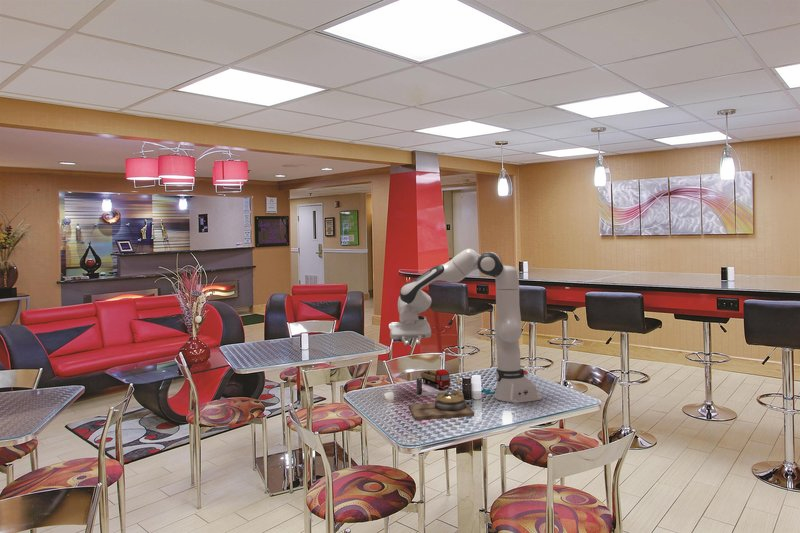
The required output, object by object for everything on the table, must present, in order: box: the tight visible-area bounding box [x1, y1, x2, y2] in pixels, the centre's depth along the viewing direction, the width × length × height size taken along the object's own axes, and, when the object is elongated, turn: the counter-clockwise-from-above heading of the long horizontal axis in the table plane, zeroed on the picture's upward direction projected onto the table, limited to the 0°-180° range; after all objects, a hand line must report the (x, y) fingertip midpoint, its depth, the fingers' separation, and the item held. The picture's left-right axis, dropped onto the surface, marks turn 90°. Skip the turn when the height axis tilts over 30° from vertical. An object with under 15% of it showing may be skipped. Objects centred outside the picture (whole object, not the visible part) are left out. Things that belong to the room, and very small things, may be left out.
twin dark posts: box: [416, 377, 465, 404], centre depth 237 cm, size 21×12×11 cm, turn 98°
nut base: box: [408, 398, 475, 421], centre depth 236 cm, size 26×18×4 cm
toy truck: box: [420, 368, 453, 391], centre depth 280 cm, size 7×21×10 cm, turn 28°
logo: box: [453, 378, 496, 395], centre depth 278 cm, size 34×1×10 cm
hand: (412, 344), depth 253 cm, fingers open, 4 cm apart
